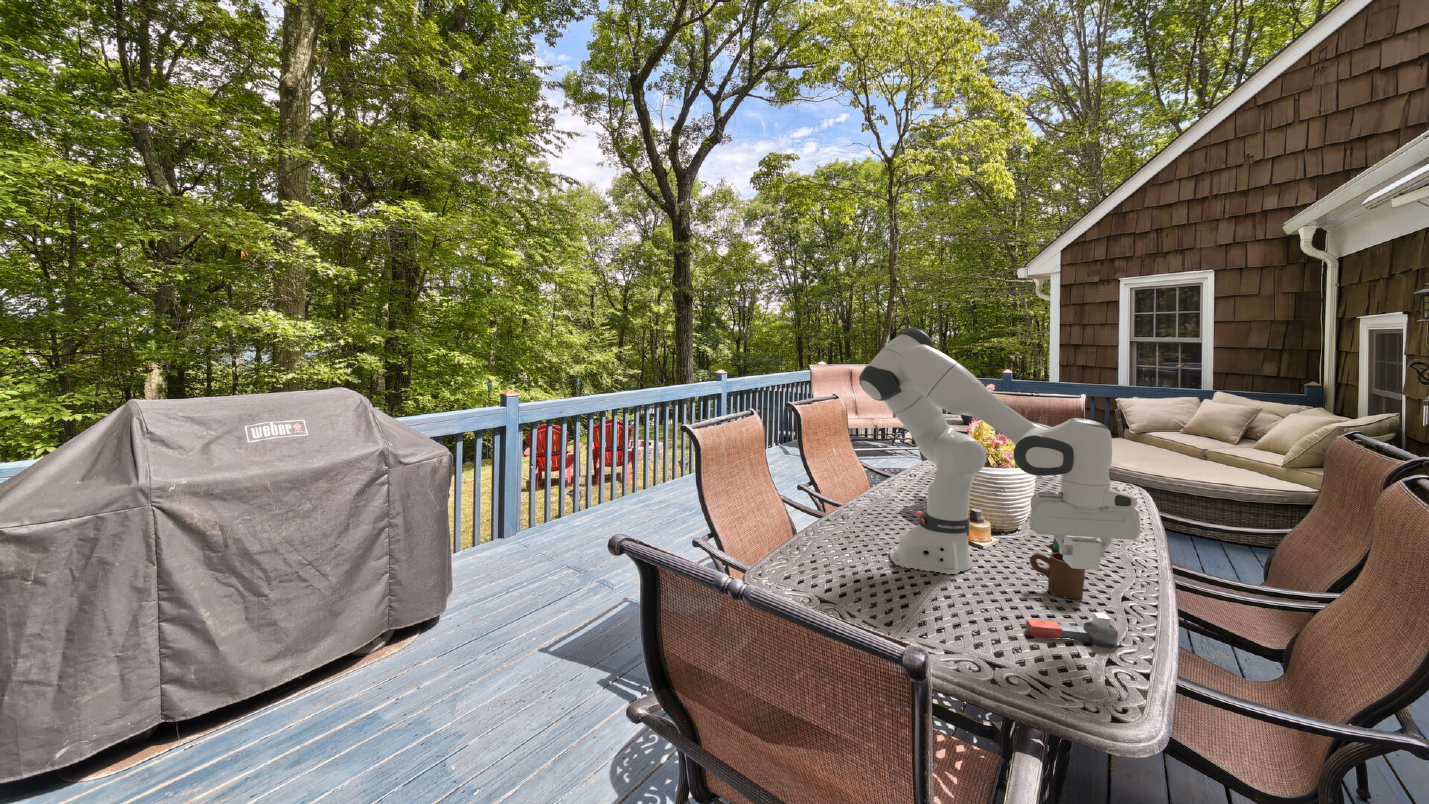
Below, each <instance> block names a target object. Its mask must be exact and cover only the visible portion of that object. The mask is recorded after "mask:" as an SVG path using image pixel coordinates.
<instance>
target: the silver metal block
mask: <svg viewBox="0 0 1429 804" xmlns="http://www.w3.org/2000/svg"><path fill="white" fill-rule="evenodd" d="M1064 545H1067V546H1068V547H1069V548H1070V551H1069V555H1063V560H1064V561H1065V562H1066V563H1067V564H1068V565H1069V566H1070V567H1071V568H1074V569H1085V570H1091V571H1100V567H1101V566H1100V565H1101V557H1100V550H1101V541H1099V540H1098V539H1096V538H1095V537H1079V536H1065V540H1064Z"/></svg>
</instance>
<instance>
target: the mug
mask: <svg viewBox="0 0 1429 804" xmlns="http://www.w3.org/2000/svg"><path fill="white" fill-rule="evenodd" d="M1037 560H1041V561H1043V562H1044V563H1045V564H1048V568H1046V567H1045V566H1041V565H1040V564H1038V562H1037ZM1029 563H1030V566H1031V568H1032V569H1033V570H1034V571H1036V572H1037V573H1040V574H1043V576H1045V577H1047V580H1048V582H1047V584H1048V585H1047V588H1048V591H1049V592H1050V593H1051V594H1053V595H1054V594H1055V596H1056V595H1057V597H1059V596H1060V597H1059V598H1062V597H1066V598H1065V599H1067V598H1072V599H1071V600H1078V598H1079V599H1081V598H1082V597H1083V595H1084V586H1085V577H1086V576H1085V572H1086V569H1074V568H1071V567H1070V566H1069V565H1068V564H1067V563H1066V562H1065V561H1064V560H1063V555H1061V554H1060V553H1053V554H1052V553H1051V554H1050V557H1049V556H1047V555H1045V554H1044V553H1034V554H1032V555H1031V556H1030V559H1029Z"/></svg>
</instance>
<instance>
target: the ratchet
mask: <svg viewBox="0 0 1429 804" xmlns="http://www.w3.org/2000/svg"><path fill="white" fill-rule="evenodd" d="M1092 615H1093V616H1092V621H1086V622H1084V624H1083V626H1082V625H1071V624H1062V623H1061V624H1060V623H1058V622H1057V621H1054V620H1045V619H1044V620H1043V619H1033V618H1026V619H1025V630H1026V629H1027V630H1028V631H1027V630H1026V631H1027V633H1028V632H1029V633H1030V634H1029V633H1028V634H1029V636H1030V635H1031V636H1036V637H1035V638H1038V637H1043V638H1042V639H1048V638H1060V639H1062V638H1070V639H1074V640H1078V641H1077V642H1086V643H1090V644H1093V645H1095V646H1097V647H1102V648H1108V649H1109V648H1110V649H1112V648H1115V647H1117V645H1118V636H1119V632H1118V630H1116V629H1115V628H1114V627H1112V626H1110V625H1111V624H1110V623H1111V618H1110V617H1109V616H1108V615H1107V614H1106V613H1103V612H1102V613H1101V612H1093V614H1092ZM1031 636H1030V637H1031ZM1062 640H1063V639H1062ZM1074 640H1073V641H1074Z"/></svg>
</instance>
